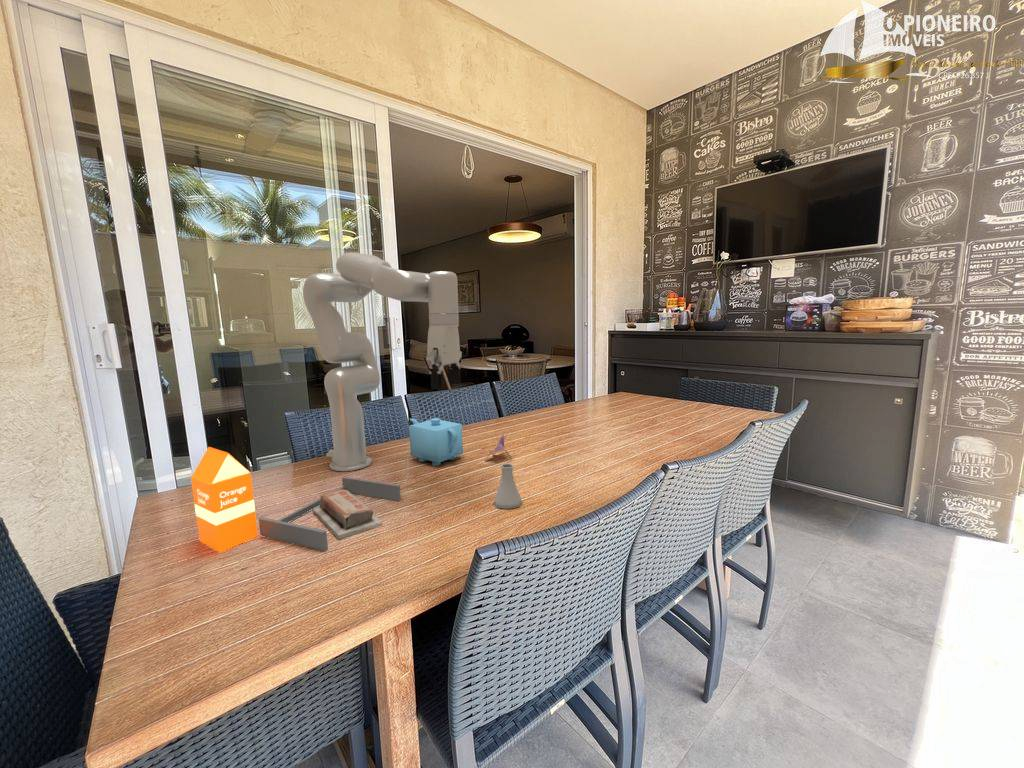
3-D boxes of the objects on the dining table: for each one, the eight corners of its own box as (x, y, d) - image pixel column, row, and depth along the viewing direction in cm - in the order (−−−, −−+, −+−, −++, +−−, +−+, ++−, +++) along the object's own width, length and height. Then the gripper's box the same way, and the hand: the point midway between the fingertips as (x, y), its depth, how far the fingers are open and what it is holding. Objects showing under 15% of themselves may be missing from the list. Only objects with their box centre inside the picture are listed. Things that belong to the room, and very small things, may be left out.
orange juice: (219, 553, 85) (206, 458, 82) (199, 542, 90) (186, 451, 87) (259, 536, 92) (248, 447, 89) (238, 526, 97) (227, 441, 94)
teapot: (469, 460, 139) (468, 419, 137) (444, 470, 130) (442, 426, 128) (424, 448, 152) (422, 410, 150) (399, 456, 144) (396, 417, 141)
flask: (492, 498, 110) (491, 461, 108) (520, 496, 110) (520, 459, 109) (494, 510, 103) (493, 471, 101) (523, 509, 103) (523, 469, 102)
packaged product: (310, 495, 103) (351, 484, 109) (312, 514, 103) (353, 502, 110) (336, 521, 89) (381, 506, 96) (338, 542, 90) (383, 526, 96)
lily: (508, 453, 148) (494, 430, 147) (530, 447, 140) (515, 423, 139) (486, 473, 140) (471, 449, 139) (508, 468, 132) (492, 442, 131)
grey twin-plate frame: (260, 536, 92) (258, 518, 92) (345, 490, 116) (344, 476, 115) (324, 551, 86) (323, 532, 85) (400, 499, 109) (399, 485, 109)
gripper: (446, 320, 119) (449, 380, 122) (413, 321, 103) (416, 391, 106) (471, 320, 117) (472, 381, 119) (440, 321, 101) (443, 392, 103)
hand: (446, 386), depth 113 cm, fingers open, 9 cm apart
